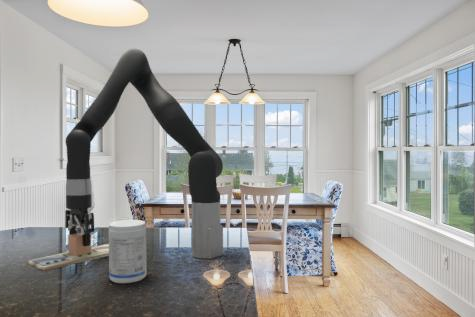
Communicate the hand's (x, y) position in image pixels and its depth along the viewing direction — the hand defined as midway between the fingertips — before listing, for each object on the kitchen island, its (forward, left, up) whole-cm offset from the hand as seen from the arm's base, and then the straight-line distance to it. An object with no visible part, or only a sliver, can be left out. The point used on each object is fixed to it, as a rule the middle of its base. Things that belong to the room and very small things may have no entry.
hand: (79, 243), depth 121 cm
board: (0, 0, -4) cm, 4 cm away
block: (0, 0, -3) cm, 3 cm away
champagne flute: (+21, -13, -4) cm, 25 cm away
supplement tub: (-30, +2, -4) cm, 30 cm away
